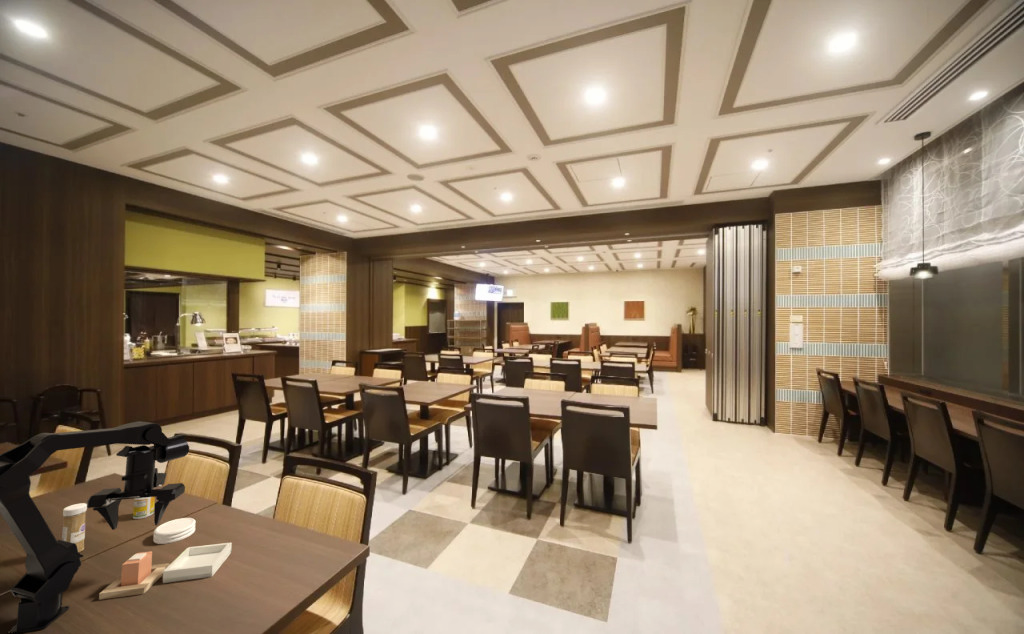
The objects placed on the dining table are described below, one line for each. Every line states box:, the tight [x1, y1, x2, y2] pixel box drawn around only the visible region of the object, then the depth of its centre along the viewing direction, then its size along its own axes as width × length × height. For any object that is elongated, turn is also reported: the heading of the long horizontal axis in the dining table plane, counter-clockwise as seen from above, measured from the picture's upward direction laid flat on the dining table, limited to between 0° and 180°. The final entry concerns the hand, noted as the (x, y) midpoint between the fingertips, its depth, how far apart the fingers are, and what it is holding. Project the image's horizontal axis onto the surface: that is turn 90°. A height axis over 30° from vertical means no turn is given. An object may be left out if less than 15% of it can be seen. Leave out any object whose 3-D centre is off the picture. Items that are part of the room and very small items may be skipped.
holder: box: [98, 562, 170, 601], centre depth 97 cm, size 10×9×2 cm
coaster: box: [152, 517, 197, 545], centre depth 119 cm, size 10×10×4 cm
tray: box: [162, 542, 233, 584], centre depth 104 cm, size 11×11×3 cm
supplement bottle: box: [132, 497, 156, 520], centre depth 131 cm, size 5×5×10 cm
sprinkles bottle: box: [61, 502, 88, 553], centre depth 109 cm, size 5×5×13 cm
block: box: [120, 550, 153, 587], centre depth 97 cm, size 5×4×7 cm
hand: (136, 526), depth 101 cm, fingers open, 9 cm apart
